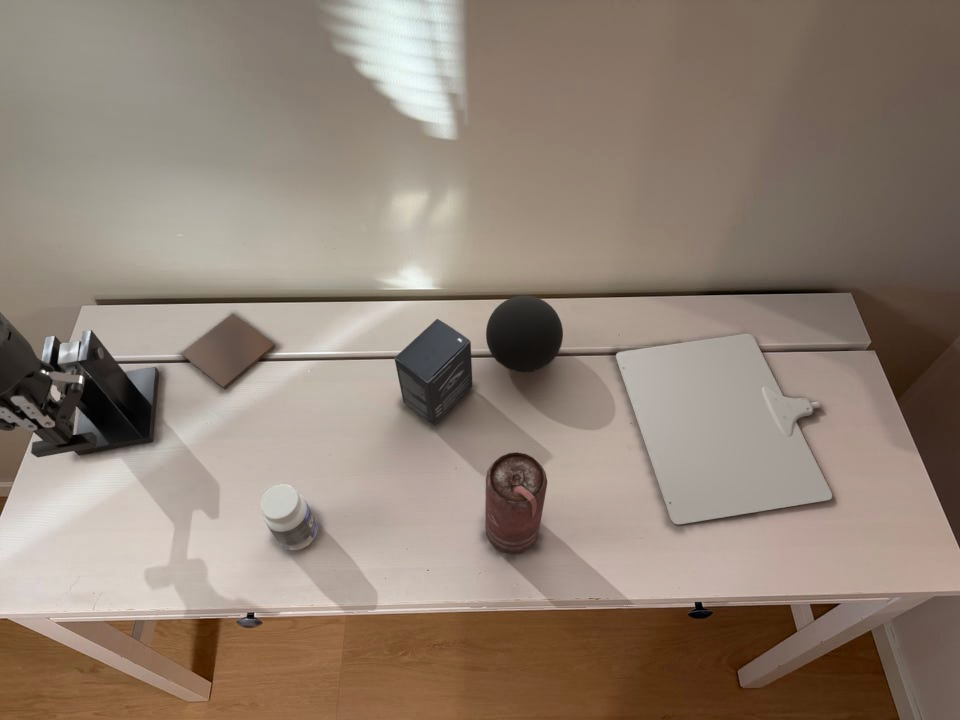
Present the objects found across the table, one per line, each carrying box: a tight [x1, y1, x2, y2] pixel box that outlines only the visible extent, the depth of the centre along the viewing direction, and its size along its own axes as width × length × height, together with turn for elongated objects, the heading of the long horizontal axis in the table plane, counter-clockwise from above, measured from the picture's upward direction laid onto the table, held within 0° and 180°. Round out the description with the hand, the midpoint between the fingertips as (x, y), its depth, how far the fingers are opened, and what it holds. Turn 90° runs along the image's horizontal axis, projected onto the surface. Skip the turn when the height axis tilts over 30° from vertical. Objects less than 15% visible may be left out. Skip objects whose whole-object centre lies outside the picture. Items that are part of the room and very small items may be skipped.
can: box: [484, 451, 548, 555], centre depth 71 cm, size 6×6×14 cm
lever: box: [30, 340, 97, 458], centre depth 74 cm, size 13×6×2 cm, turn 12°
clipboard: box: [615, 333, 833, 526], centre depth 84 cm, size 25×24×1 cm
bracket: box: [40, 329, 160, 456], centre depth 80 cm, size 11×9×14 cm
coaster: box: [180, 313, 276, 390], centre depth 91 cm, size 9×9×1 cm
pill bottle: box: [259, 483, 318, 551], centre depth 73 cm, size 5×5×8 cm
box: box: [394, 318, 474, 426], centre depth 83 cm, size 8×6×11 cm
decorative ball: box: [485, 295, 564, 373], centre depth 87 cm, size 10×10×10 cm
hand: (63, 436), depth 70 cm, fingers closed
